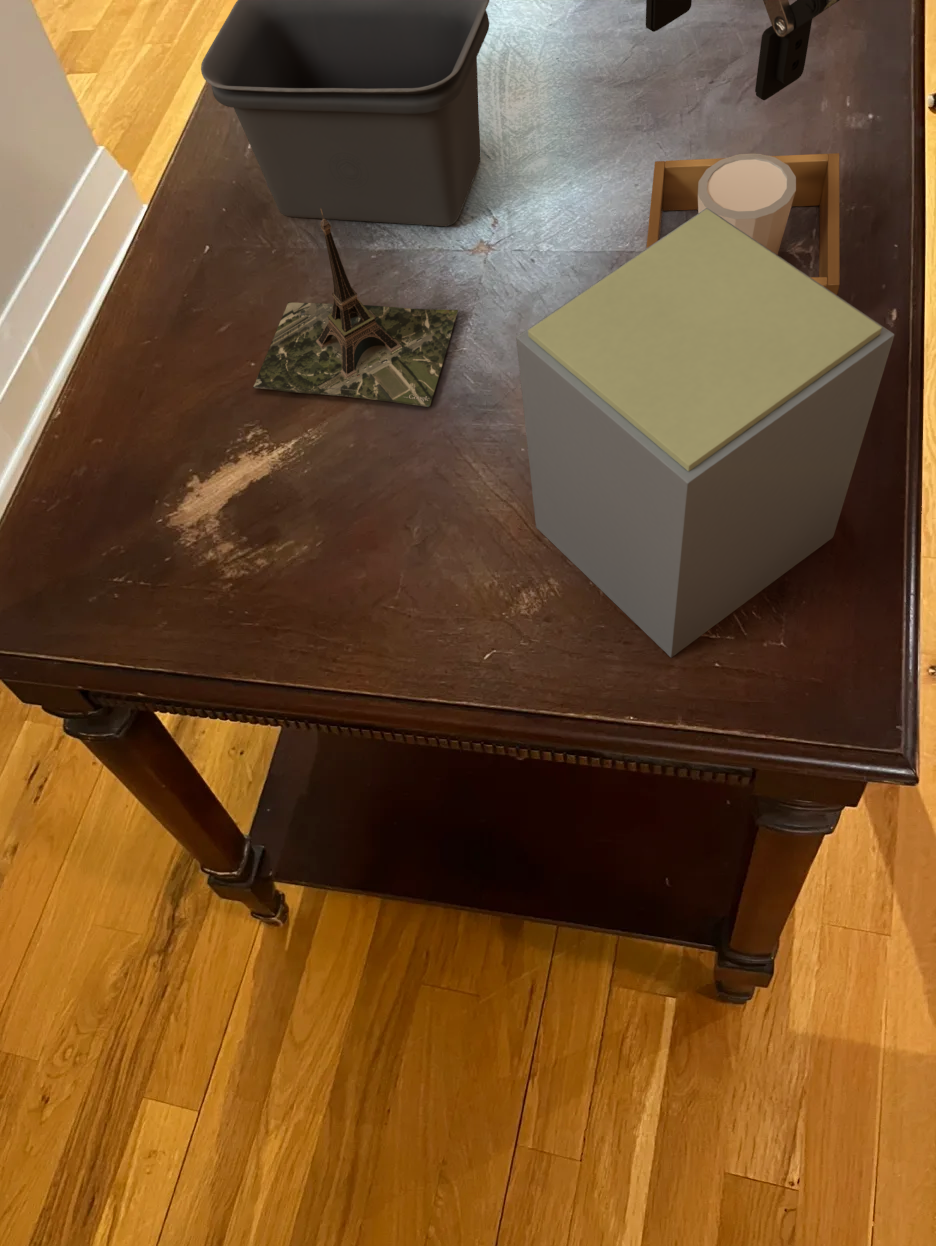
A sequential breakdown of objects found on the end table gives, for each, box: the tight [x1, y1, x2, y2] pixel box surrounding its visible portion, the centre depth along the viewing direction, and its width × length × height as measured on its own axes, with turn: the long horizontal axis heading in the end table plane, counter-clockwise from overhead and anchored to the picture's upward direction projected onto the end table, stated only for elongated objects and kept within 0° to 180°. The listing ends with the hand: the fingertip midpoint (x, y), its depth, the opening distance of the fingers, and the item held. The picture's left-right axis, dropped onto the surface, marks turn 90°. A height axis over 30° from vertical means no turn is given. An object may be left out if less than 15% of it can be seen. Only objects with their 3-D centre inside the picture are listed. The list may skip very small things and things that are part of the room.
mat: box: [528, 209, 882, 471], centre depth 59 cm, size 13×13×1 cm
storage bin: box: [200, 0, 490, 227], centre depth 90 cm, size 21×16×14 cm
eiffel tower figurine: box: [252, 208, 459, 408], centre depth 82 cm, size 15×10×13 cm
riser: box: [515, 208, 895, 658], centre depth 67 cm, size 14×14×18 cm
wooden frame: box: [645, 152, 841, 296], centre depth 83 cm, size 14×14×4 cm
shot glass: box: [697, 152, 796, 256], centre depth 81 cm, size 7×7×7 cm
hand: (721, 52), depth 67 cm, fingers open, 9 cm apart
